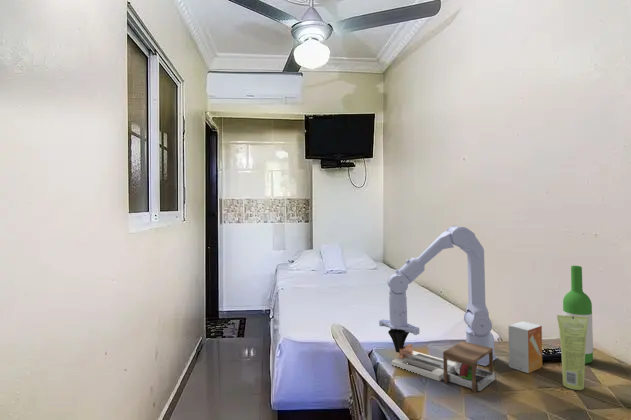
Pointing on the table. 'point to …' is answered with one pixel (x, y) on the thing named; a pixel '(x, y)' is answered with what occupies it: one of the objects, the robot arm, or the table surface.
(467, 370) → the geometric puzzle
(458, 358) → the brown wooden stool
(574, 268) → the wine bottle
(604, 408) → the table surface
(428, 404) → the table surface
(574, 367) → the tube
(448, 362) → the pit board
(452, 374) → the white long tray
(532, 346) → the small box
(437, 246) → the robot arm
